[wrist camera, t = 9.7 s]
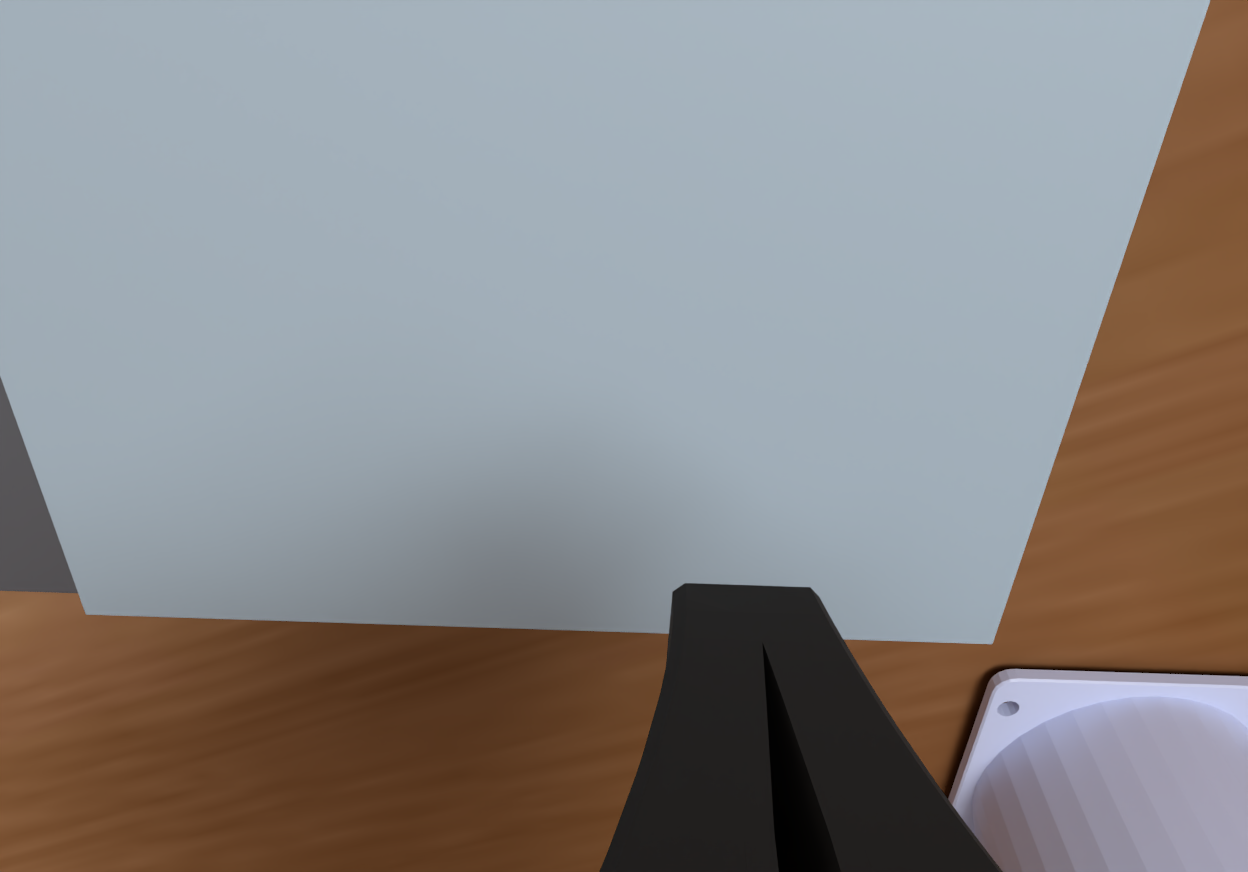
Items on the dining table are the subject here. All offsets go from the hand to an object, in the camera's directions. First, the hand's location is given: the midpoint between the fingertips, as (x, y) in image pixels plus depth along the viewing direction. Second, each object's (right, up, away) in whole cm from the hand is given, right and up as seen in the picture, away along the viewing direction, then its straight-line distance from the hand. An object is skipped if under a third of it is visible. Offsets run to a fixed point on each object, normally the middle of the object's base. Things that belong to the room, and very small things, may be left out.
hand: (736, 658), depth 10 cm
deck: (-2, +6, +8) cm, 10 cm away
